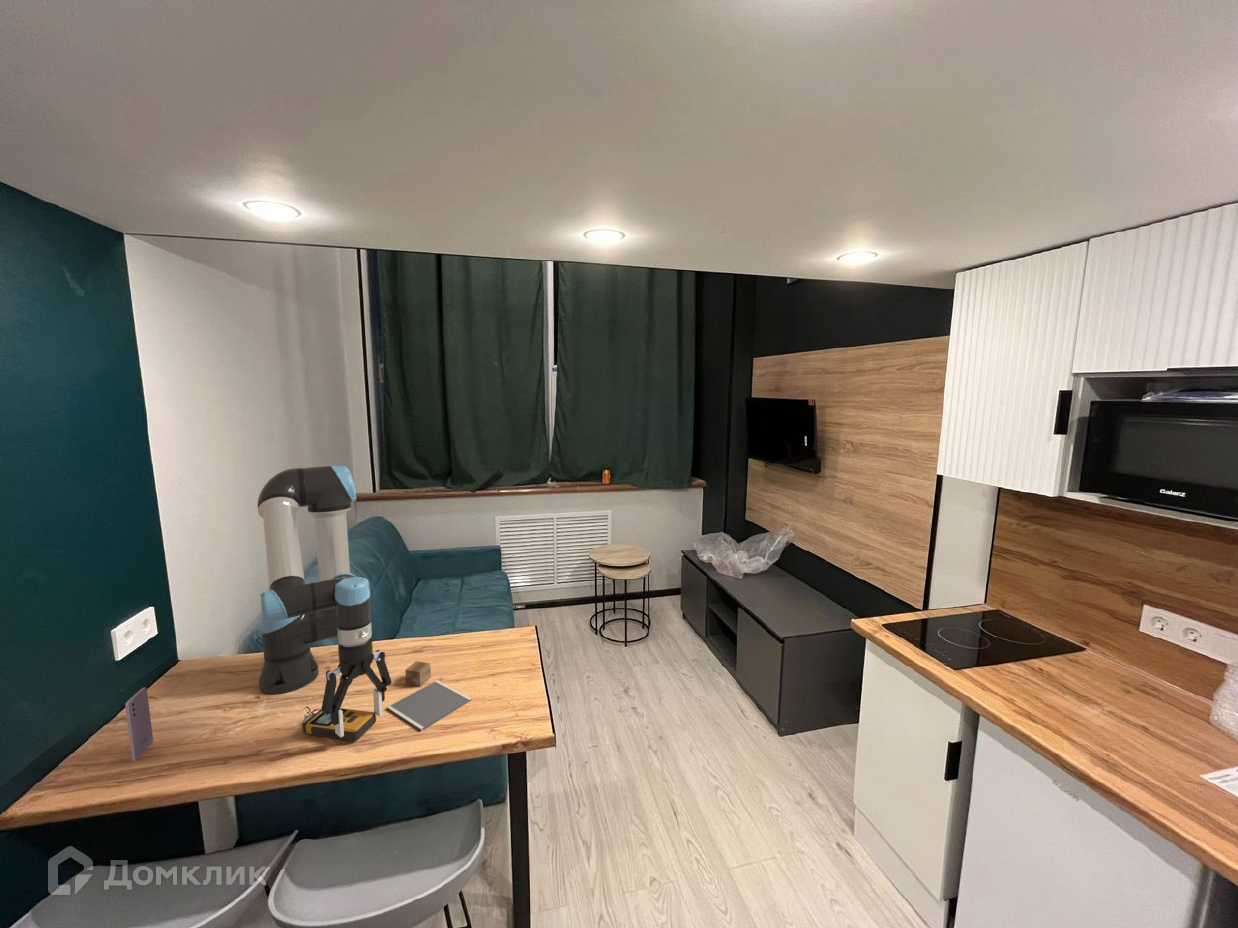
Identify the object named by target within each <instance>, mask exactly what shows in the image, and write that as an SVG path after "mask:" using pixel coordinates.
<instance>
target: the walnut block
mask: <svg viewBox="0 0 1238 928" xmlns="http://www.w3.org/2000/svg"><path fill="white" fill-rule="evenodd" d="M404 671H405V685H406V686H407V685H408V686H413V687H418V688H421V687H422V686H423V685H425V683H427V682H428V681H429V680H430V679H431V678H432V672H431V663H429V662H423V661H417V660H415V661H414V662H413V663H412V664H411V665H409V666H408V667H407V668H405V669H404Z"/></svg>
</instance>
